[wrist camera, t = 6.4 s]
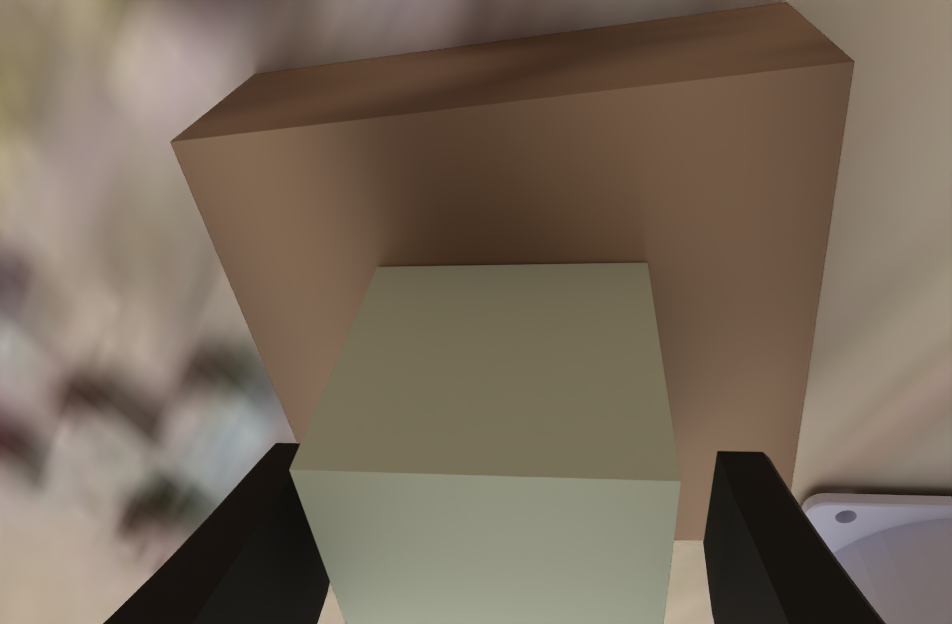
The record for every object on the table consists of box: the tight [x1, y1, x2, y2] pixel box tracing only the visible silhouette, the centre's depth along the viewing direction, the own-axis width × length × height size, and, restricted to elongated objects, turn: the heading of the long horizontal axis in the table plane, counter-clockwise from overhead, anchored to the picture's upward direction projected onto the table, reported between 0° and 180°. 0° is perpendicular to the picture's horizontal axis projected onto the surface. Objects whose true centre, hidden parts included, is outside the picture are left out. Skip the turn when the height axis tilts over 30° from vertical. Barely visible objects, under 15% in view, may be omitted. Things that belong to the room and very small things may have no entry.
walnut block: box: [170, 2, 854, 540], centre depth 14 cm, size 10×10×4 cm
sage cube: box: [289, 263, 681, 624], centre depth 11 cm, size 4×4×4 cm
